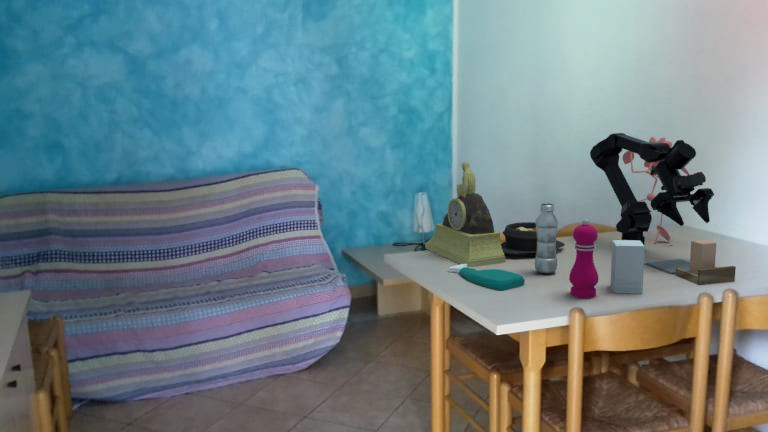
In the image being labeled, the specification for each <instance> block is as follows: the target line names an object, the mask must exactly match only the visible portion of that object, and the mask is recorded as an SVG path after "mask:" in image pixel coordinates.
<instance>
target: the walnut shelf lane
mask: <svg viewBox="0 0 768 432" xmlns="http://www.w3.org/2000/svg"><path fill="white" fill-rule="evenodd" d="M736 267H737V266H735V265H728V266H727V265H726V266H717V267H716V266H715V268H706V269H698V275H696V274H694V273H691V272H688V271H686V270H683V269H680V268H676V274H675V276H676V277H679V278H682V279H684V280H687V281H689V282H692V283H695V284H696V285H699V286H700V285H711V283H712V284H719V283H720V282H721V283H728V282H729V283H730V282H735V281H736V269H737V268H736Z"/></svg>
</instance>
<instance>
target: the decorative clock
mask: <svg viewBox="0 0 768 432" xmlns="http://www.w3.org/2000/svg"><path fill="white" fill-rule="evenodd" d="M460 165H461V168H462V171H463V172H462V177H461V182H462V183H458V184H456V193H457V194H456V195H457V197H455V198H452V199H451V200H450V201H449V202H448V207H447V213H446V214H445V216H444V217H443V221H442V223H435V231H434V234H433V236H432V237H431V238H430V239H429V240H428V241H427V242H425V245H424V246H425V250H428V251H430V252H432V253H435V254H437V255H439V256H441V257H444V258H446V259H448V260H451V261H453V262H456V263H457V264H458V265H460V264H467V267H472V268H477V267H483V266H491V265H497V264H504V263H506V256H505V253H503V250H502V247H501V233H500V232H499V231H495V228H494V222H493V218H492V216H491V215H492V214H491V213H490V210H489V208H488V206H487V204H486V202H485V201H484V199H483V197H482V195H480V194H479V193H476V176H475V174H474V172H473V170H472V169H471V167H470V162H468V161H466V160H465V161H463V162H462V163H461V164H460Z"/></svg>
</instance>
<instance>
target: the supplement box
mask: <svg viewBox="0 0 768 432" xmlns="http://www.w3.org/2000/svg"><path fill="white" fill-rule="evenodd" d="M645 247H646V245H643V243H642V242H641V241H640V240H621V239H613V240H612V242H611V259H610V260H611V261H610V264H611V265H610V288H611V290H612V292H613V293H615V294H616V293H617V294H638V295H641V294H643V290H644V267H645V251H646V250H645V249H646V248H645Z"/></svg>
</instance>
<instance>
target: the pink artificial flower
mask: <svg viewBox="0 0 768 432" xmlns="http://www.w3.org/2000/svg"><path fill="white" fill-rule="evenodd" d="M648 142H661V143H667V144H668V145H669V147H671V148H672V147H673V143H672V141H670V140H667V141H666V137H664V136H663V137H660V138H659V139H658V140H657V139H656V138H655V136H651V137H650V138H649V140H648ZM634 159H635V153H634V152H631V151H628V150H625V152H624V153H623V154H622V161H623V164H624V165H628V164H630V169H631V173H632V174H633V173H634V174H635V173H639V174H641V173H645V174H648V175H649V176H651V177H652V178H654V180H655V181H654V183H653V187H652V190H651V193H648V194H647V195H646V197H645V198H643V199H641V200H638V201H639V202H643V201H646V200H647V201H648V202H651V200H652V199H653V198H654V197H655V196H656V195H655V194H654V190H655V189H656V185H657V182H658V179H659V177H658V175H651V174H650V173H651V170H652V166H656V165H657V164H658V163H659V162H653V163H648V162H646V161H644V163H643V165H644V167H645V168H648V169H646V170H634V164H633V161H634ZM680 171H682V172H684V174H686V176H687V175H691V174H690V172H689V171H688V170H687V168H686V166H685V167H684V168H683V169H680ZM663 215H664V214H662V213H661V217H660V224H657V226H656V230H657V233H656V234H655V235H656V236H655V239H654V241H653V243H654V244H656V243H657V241H658V237H659V235H660V236H661V237H662V238H664V239H665V241H668V242H670V241H671V238H675V239H676V237H675V236H672V235H670V234H669V232H668V230H667V229H666V228H665V227H664V226H662V223H663V217H664V216H663ZM647 234H648V235H649V234H650V235H654V233H652V232H647ZM672 246H674V245H673V244H672V245H669V247H672Z"/></svg>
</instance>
